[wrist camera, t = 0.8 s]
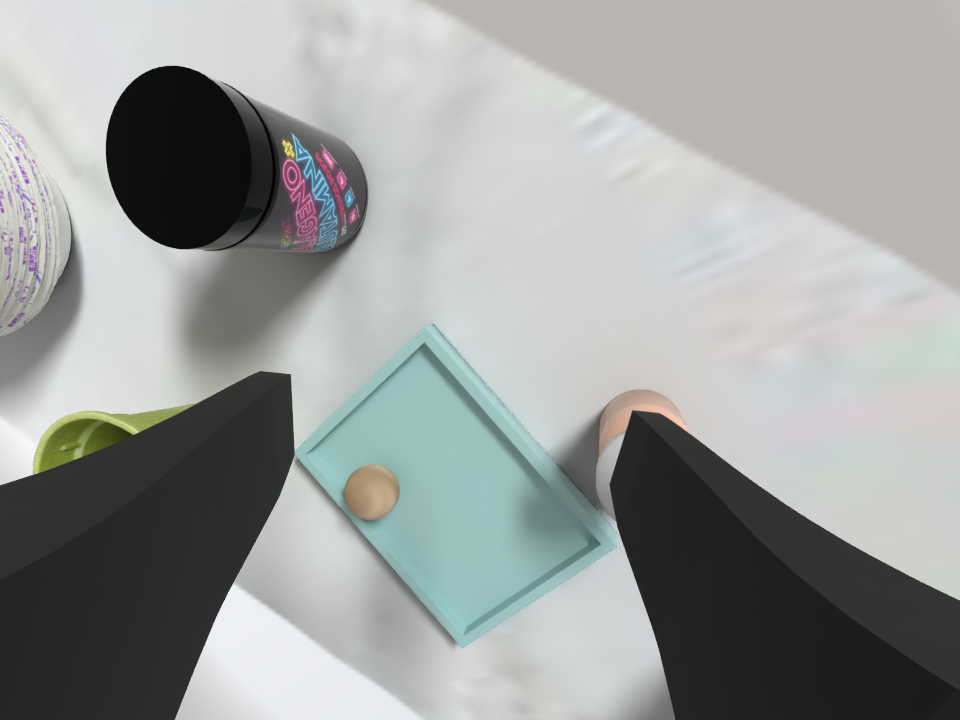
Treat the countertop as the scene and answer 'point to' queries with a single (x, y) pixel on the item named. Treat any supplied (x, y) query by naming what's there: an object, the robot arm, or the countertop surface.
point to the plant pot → (91, 434)
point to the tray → (458, 489)
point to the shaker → (614, 431)
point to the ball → (371, 492)
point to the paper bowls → (28, 231)
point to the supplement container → (228, 169)
